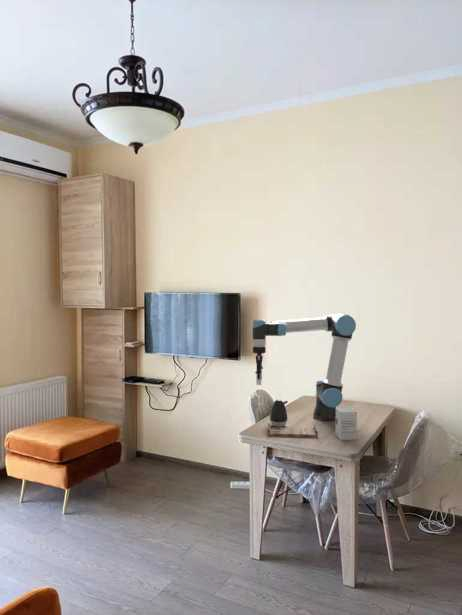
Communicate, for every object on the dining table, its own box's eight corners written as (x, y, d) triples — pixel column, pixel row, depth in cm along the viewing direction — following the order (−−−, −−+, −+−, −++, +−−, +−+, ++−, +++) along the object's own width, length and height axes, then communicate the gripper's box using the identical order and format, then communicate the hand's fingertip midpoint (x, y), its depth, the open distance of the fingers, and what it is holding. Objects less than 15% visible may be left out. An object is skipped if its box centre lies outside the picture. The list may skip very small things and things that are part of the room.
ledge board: (315, 431, 266) (315, 424, 265) (317, 437, 254) (317, 431, 253) (268, 429, 268) (268, 423, 267) (268, 436, 256) (268, 429, 255)
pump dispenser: (289, 428, 271) (290, 401, 270) (271, 428, 269) (272, 402, 269) (285, 423, 281) (285, 397, 280) (267, 423, 279) (268, 397, 279)
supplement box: (334, 435, 259) (335, 407, 258) (351, 434, 259) (351, 407, 259) (340, 440, 250) (340, 411, 249) (356, 440, 250) (357, 411, 250)
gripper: (253, 343, 291) (253, 378, 292) (251, 348, 267) (251, 386, 267) (266, 343, 291) (266, 378, 292) (265, 348, 266) (265, 386, 267)
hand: (259, 382), depth 280 cm, fingers open, 13 cm apart
